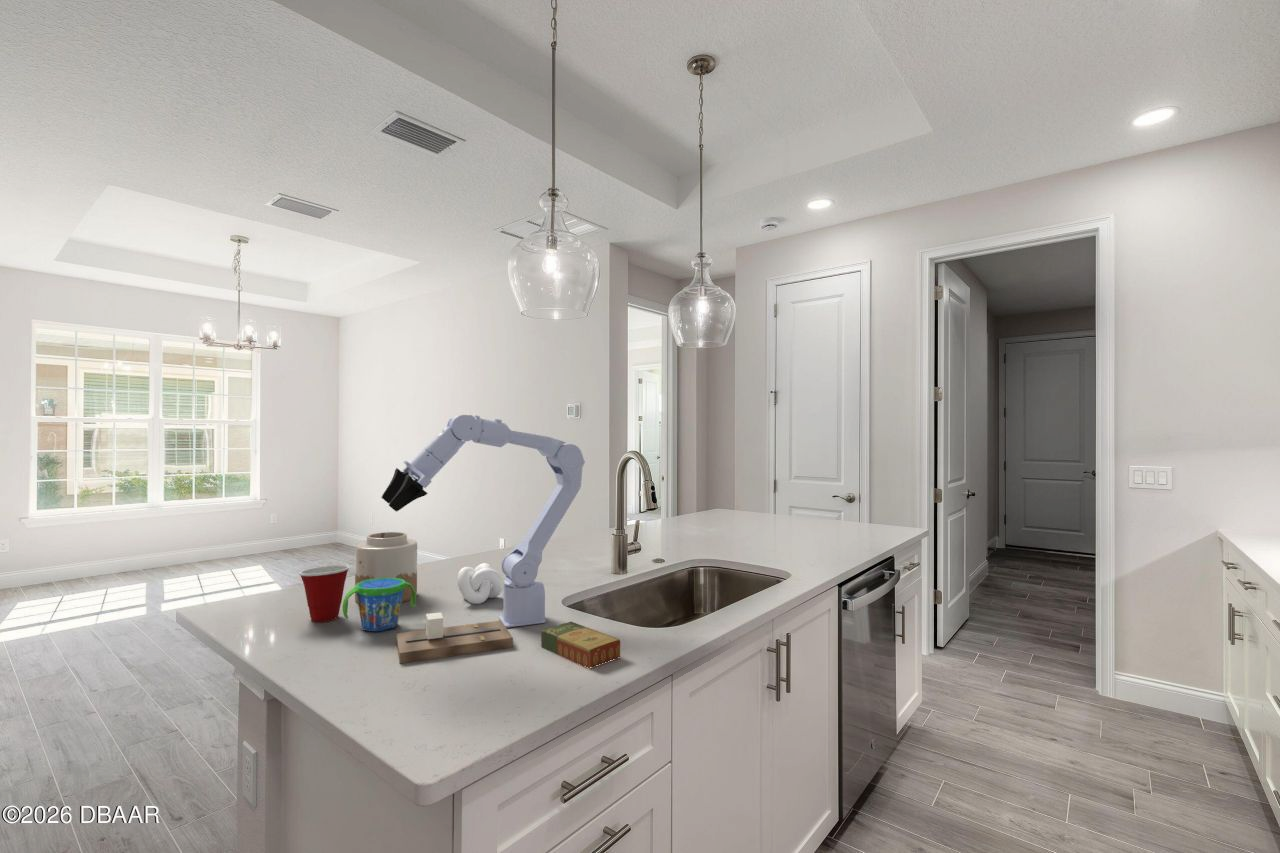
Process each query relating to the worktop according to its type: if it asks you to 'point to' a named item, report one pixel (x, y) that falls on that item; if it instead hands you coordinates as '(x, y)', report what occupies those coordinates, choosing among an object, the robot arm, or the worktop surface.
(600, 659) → the carton
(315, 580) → the plastic cup
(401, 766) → the worktop surface
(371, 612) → the snack cup
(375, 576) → the vase
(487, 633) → the fader console
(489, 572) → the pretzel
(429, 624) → the fader tab
